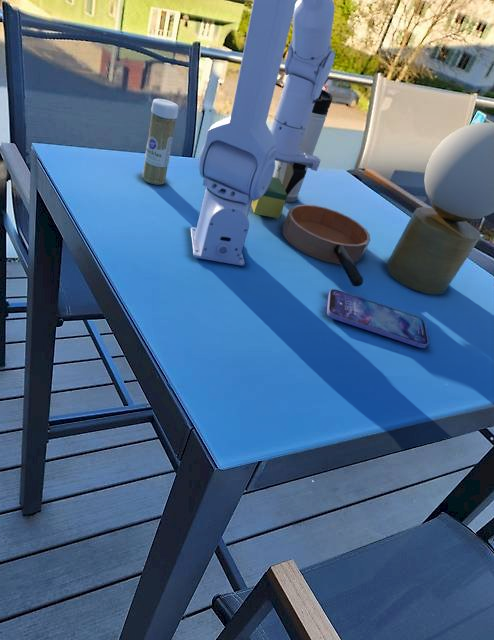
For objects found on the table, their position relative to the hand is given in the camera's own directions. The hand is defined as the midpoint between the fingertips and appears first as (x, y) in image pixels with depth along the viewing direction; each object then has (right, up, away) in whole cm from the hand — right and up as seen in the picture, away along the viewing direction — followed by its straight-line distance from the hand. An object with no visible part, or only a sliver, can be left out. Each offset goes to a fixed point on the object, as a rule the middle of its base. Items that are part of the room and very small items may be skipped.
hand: (265, 200), depth 92 cm
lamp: (+27, -15, -3) cm, 31 cm away
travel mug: (+5, +5, +10) cm, 12 cm away
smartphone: (+14, -26, -20) cm, 35 cm away
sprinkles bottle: (-21, +3, 0) cm, 22 cm away
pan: (+10, -9, -3) cm, 14 cm away
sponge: (0, -1, +1) cm, 1 cm away
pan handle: (+11, -16, -13) cm, 24 cm away
